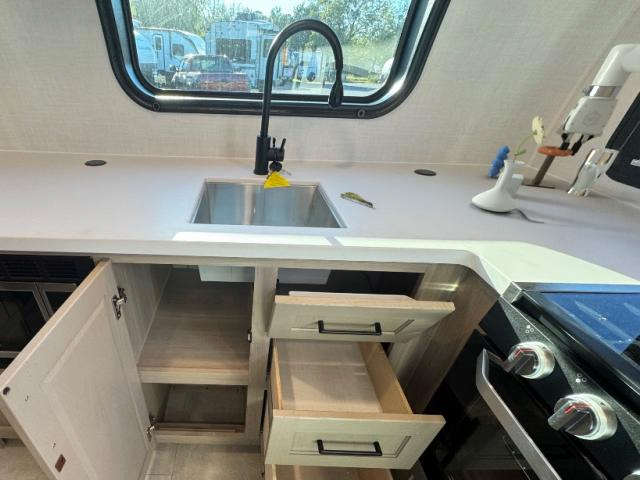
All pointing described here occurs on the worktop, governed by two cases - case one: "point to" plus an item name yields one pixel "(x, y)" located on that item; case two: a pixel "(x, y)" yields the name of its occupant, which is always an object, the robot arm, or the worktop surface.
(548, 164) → the stand
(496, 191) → the flower in vase
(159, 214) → the worktop surface
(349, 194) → the green bird figurine
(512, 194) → the product carton
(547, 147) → the ring
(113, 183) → the worktop surface
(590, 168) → the beer glass
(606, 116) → the robot arm
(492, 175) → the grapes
